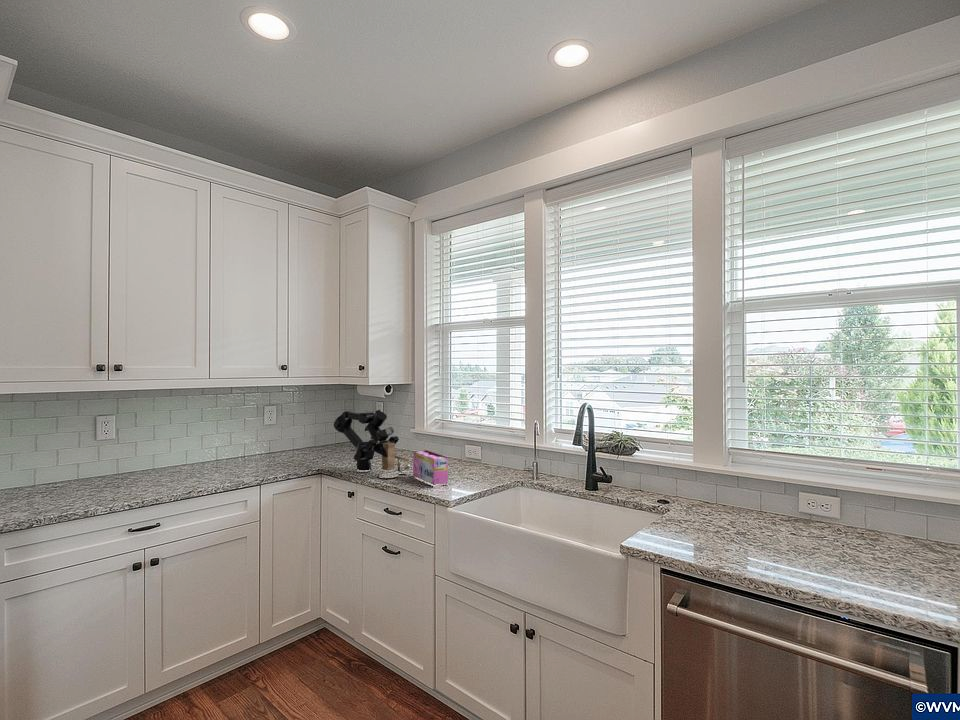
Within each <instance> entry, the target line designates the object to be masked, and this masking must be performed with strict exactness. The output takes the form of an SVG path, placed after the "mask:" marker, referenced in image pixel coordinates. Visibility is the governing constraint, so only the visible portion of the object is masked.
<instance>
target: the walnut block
mask: <svg viewBox="0 0 960 720" xmlns="http://www.w3.org/2000/svg"><path fill="white" fill-rule="evenodd" d="M382 444H383V449H384V450H385V452H386V454H387V458H385V457H384V456H382V455H381V470H385V471H393V470H395V456H396V455H395V453H396V451H395V449H396V447H395V446H396V444H395V443H390V442H388V443H382Z"/></svg>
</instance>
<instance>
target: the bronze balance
mask: <svg viewBox="0 0 960 720" xmlns="http://www.w3.org/2000/svg"><path fill="white" fill-rule="evenodd" d="M395 458H396V459H397V471H401V460H403V461H406V462H409V458H406V457H402V456H398V455H395ZM403 470H413V466H412V467H411V464H410V463H407V464H406V465H405V467H403Z"/></svg>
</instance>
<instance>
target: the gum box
mask: <svg viewBox="0 0 960 720" xmlns="http://www.w3.org/2000/svg"><path fill="white" fill-rule="evenodd" d="M412 462H413V463H412V464H413V465H412V473H413V474H412V476H413V475H414V476H416V477H418V478H420V479H422V480H424V481H426V482H429V483H431V484H433V485H436V484H443V483H448V482H449V481H448V480H449V479H448V477H449V475H448V474H449V457H448V456H445V455H443V454H438V453H437V452H433V451H431V450H428V449H424V450H423V451H417V452H416V451H414V450H413V461H412Z"/></svg>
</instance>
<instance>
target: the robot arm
mask: <svg viewBox="0 0 960 720" xmlns="http://www.w3.org/2000/svg"><path fill="white" fill-rule="evenodd" d="M387 418H388V416H387V414H386V413H385V412H383V411H381V409H376V411H375V412H373V411H371V412H370V411H368V412H358V411H352V410H344V411H343V412H342V414H340V415H339V416H338V417H336V419H335V420H334V422H333V428H334V429H335V431H337V432H339V433H342V434H343V435H344V436H345V437H346V438H347V439H348V440H349V441H350V443H351V444H352V445H353V446H354V448H355V454H354V455H353V459H354V461H355V462H356V470H357V469H359V470H369V469H371V470H372V462H371V460H373V459H374V455H375V453H377V454H379V455H381V457H382V456H384V457H385V458H387V454H386V452H385V450H384V449H383V444H382V443H388V442H390V443H395V445H396V444H397V443H398V442H399V441H400V439H399V437H398V436H397V435H395V436H394V435H393V434H394V428H393V427H392V426H389V427H387V428H385V429H381V428H380V427H382V425H383V424H384V422H385V421H387ZM353 420H355V421H358V422H359V423H361V424H362V425H365V426H364V427H365V428H364V432H368V433H369V434H370V440H368V441H363V439H362V438H361V437H360V436H359V435H358V434H357V433H356V431H355V430H354V429H353V428H352V423H353ZM366 424H367V425H366ZM389 436H390V437H389Z"/></svg>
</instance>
